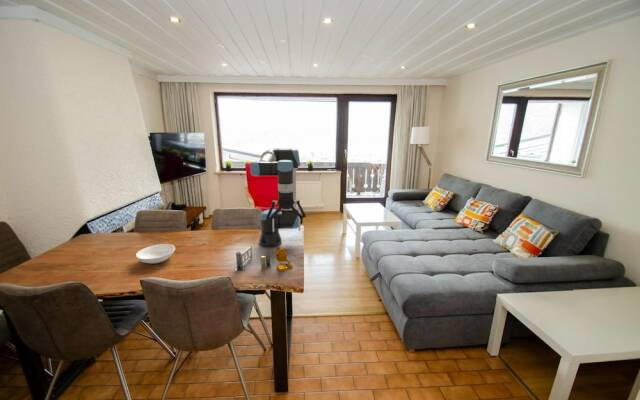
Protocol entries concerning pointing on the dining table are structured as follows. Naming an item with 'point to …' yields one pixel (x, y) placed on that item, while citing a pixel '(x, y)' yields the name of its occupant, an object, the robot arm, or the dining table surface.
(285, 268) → the figurine
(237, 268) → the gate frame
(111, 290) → the dining table surface
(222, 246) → the dining table surface
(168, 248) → the bowl
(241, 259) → the gate
